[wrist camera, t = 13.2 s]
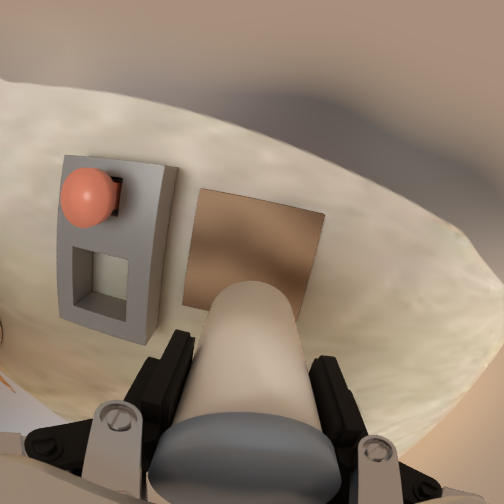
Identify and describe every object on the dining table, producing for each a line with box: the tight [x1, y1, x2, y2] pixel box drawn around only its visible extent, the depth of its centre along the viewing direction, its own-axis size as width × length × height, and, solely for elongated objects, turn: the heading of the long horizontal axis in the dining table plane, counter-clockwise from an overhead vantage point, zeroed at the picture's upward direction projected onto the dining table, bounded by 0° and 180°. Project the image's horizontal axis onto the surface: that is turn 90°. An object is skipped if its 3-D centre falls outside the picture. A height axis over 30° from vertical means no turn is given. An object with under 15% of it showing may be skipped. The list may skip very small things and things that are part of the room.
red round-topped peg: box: [61, 168, 123, 228], centre depth 21 cm, size 4×4×7 cm
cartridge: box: [148, 281, 341, 504], centre depth 10 cm, size 5×5×10 cm
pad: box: [182, 189, 325, 323], centre depth 26 cm, size 11×11×1 cm
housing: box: [57, 155, 178, 346], centre depth 24 cm, size 16×10×4 cm, turn 168°
